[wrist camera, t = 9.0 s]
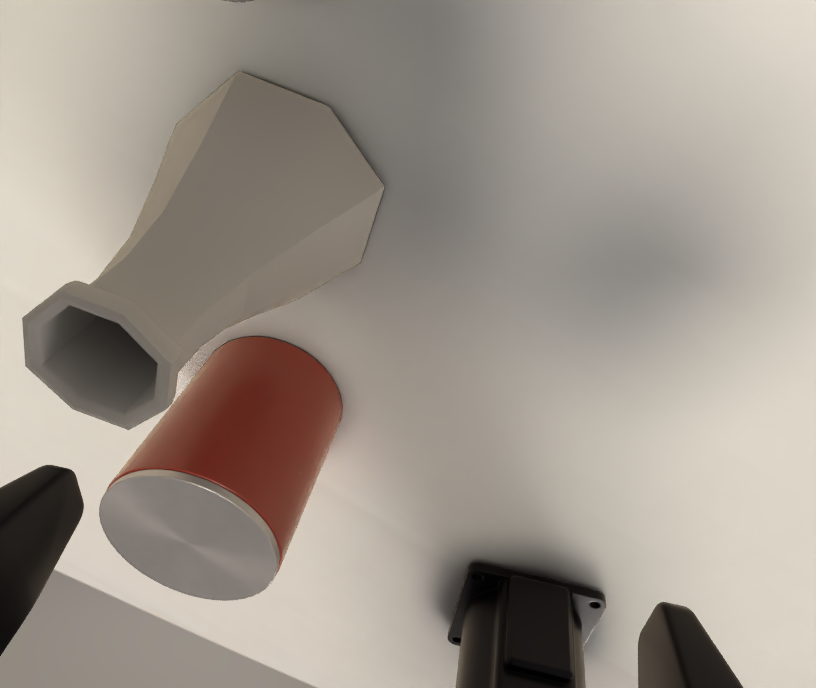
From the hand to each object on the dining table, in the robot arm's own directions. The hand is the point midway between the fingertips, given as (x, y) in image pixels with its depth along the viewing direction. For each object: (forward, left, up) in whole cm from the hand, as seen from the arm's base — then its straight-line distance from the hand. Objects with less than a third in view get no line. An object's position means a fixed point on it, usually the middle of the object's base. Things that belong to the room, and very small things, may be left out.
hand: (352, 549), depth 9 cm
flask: (0, +6, -13) cm, 14 cm away
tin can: (-9, +6, -13) cm, 17 cm away
